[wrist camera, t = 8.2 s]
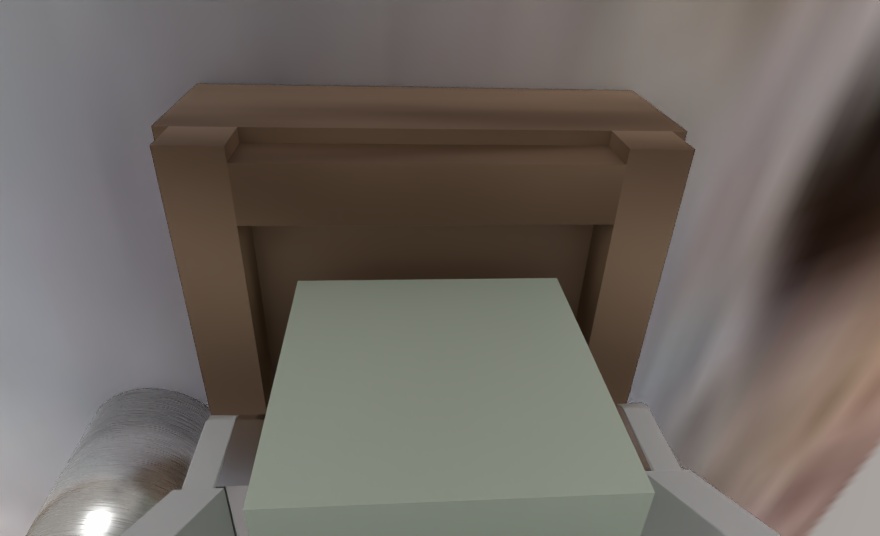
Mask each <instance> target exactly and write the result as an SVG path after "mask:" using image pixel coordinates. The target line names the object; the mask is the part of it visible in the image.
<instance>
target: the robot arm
mask: <svg viewBox="0 0 880 536" xmlns="http://www.w3.org/2000/svg"><path fill="white" fill-rule="evenodd" d="M615 406H616V408H617V411H618V413H619V415H620V417H621V419H622V421H623V424H624V426H625V428H626V430H627V432H628V435H629V437H630V439H631V441H632V443H633V445H634V448H635V450H636V452H637V454H638V456H639V459H640V461H641V463H642V465H643V467H644V470H645V472H646V474H647V476H648V478H649V480H650V483H651V485H652V487H653V489H654V491H655V494H654V497H653V500H652V503H651V506H650V509H649V512H648V515H647V518H646V521H645V524H644V527H643V530H642V533H641V536H781V535H779V534H778V533H777V532H775V531H774V530H773V529H771V528H770V527H768V526H767V525H766V524H764V523H763V522H761V521H760V520H759V519H757V518H756V517H754V516H753V515H752V514H750V513H749V512H748V511H746V510H745V509H743V508H742V507H741V506H739V505H738V504H736V503H735V502H734V501H732V500H731V499H729V498H728V497H727V496H725V495H724V494H723V493H721V492H720V491H718V490H717V489H716V488H714V487H713V486H711V485H710V484H709V483H707V482H706V481H704V480H703V479H702V478H700V477H699V476H698V475H696V474H695V473H693V472H692V471H691V470H682V469H681V467H680V466H679V464H678V462H677V460H676V458H675V456H674V454H673V453H672V451H671V449H670V447H669V445H668V443H667V441H666V439H665V438H664V436H663V434H662V432H661V430H660V428H659V426H658V424H657V423H656V421H655V419H654V417H653V415H652V413H651V411H650V409H649V408H648V406H647V405H645V404H644V403H626V404H617V405H616V404H615ZM264 420H265V415H211V416H210V417H209V418H208V420H207V421H206V422H205V425H204V427H203V430H202V433H201V436H200V439H199V441H198V444H197V447H196V450H195V453H194V456H193V458H192V461H191V464H190V467H189V470H188V472H187V475H186V478H185V481H184V484H183V486H182V489H180V490H172V491H171V492H170V493H169V494H167V495H166V496H165V497H164V498H163V499H162V500H161V501H159V502H158V503H157V504H156V505H155V506H154V507H153V508H151V509H150V510H149V511H148V512H147V513H146V514H144V515H143V516H142V517H141V518H140V519H139V520H138V521H136V522H135V523H134V524H133V525H132V526H131V527H130V528H128V529H127V530H126V531H125V532H124V533H123V534H121V535H120V536H248V532H247V527H246V522H245V518H244V513H243V507H244V503H245V499H246V495H247V490H248V486H249V482H250V478H251V474H252V470H253V465H254V461H255V457H256V453H257V449H258V445H259V440H260V436H261V432H262V428H263V424H264Z"/></svg>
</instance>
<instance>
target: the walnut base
mask: <svg viewBox="0 0 880 536" xmlns="http://www.w3.org/2000/svg"><path fill="white" fill-rule="evenodd" d="M151 127H152V131H153V136H154V142H153V143H152V144H151V145H150V149H151V154H152V158H153V162H154V167H155V171H156V175H157V180H158V184H159V189H160V193H161V197H162V202H163V206H164V211H165V215H166V219H167V224H168V228H169V233H170V237H171V241H172V246H173V250H174V255H175V259H176V263H177V268H178V272H179V276H180V281H181V285H182V290H183V294H184V298H185V303H186V307H187V312H188V316H189V320H190V325H191V329H192V334H193V338H194V342H195V347H196V351H197V356H198V360H199V364H200V369H201V373H202V377H203V382H204V386H205V391H206V395H207V399H208V404H209V408H210V413H211V415H266V411H267V407H268V403H269V399H270V395H271V390H272V386H273V382H274V378H275V374H276V370H277V365H278V361H279V357H280V353H281V349H282V345H283V340H284V336H285V332H286V328H287V324H288V320H289V315H290V311H291V307H292V303H293V299H294V295H295V290H296V286H297V282H298V281H326V280H419V279H512V278H557V279H558V282H559V284H560V286H561V288H562V290H563V292H564V295H565V297H566V299H567V301H568V303H569V306H570V308H571V310H572V312H573V314H574V317H575V319H576V321H577V323H578V325H579V327H580V330H581V332H582V334H583V336H584V338H585V341H586V343H587V345H588V347H589V349H590V351H591V354H592V356H593V358H594V360H595V362H596V365H597V367H598V369H599V371H600V373H601V376H602V378H603V380H604V382H605V384H606V386H607V389H608V391H609V393H610V395H611V397H612V400H613V402H614V404H616V405H617V404H626V403H627V400H628V397H629V393H630V389H631V385H632V382H633V378H634V374H635V371H636V367H637V363H638V359H639V356H640V352H641V348H642V345H643V341H644V337H645V333H646V330H647V326H648V322H649V319H650V315H651V311H652V308H653V304H654V300H655V296H656V293H657V289H658V285H659V282H660V278H661V274H662V270H663V267H664V263H665V259H666V256H667V252H668V248H669V245H670V241H671V237H672V233H673V230H674V226H675V222H676V219H677V215H678V211H679V207H680V204H681V200H682V196H683V193H684V189H685V185H686V181H687V178H688V174H689V170H690V167H691V163H692V159H693V156H694V152H695V149H694V148H693V147H691V146H690V145H689V144H688V143H686V142H685V138H686V134H687V131H686V130H685V129H683V128H682V127H680V126H679V125H678V124H676V123H675V122H674V121H672V120H671V119H670V118H668V117H667V116H666V115H664V114H663V113H662V112H660V111H659V110H658V109H656V108H655V107H654V106H652V105H651V104H650V103H648V102H647V101H646V100H644V99H643V98H642V97H640V96H639V95H638V94H636V93H635V92H634V91H631V90H568V89H505V88H442V87H378V86H315V85H252V84H196V85H195V86H194V87H193V88H192V89H191V90H190V91H188V92H187V93H186V94H185V95H184V96H183V97H182V98H181V99H180V100H179V101H178V102H177V103H176V104H175V105H173V106H172V107H171V108H170V109H169V110H168V111H167V112H166V113H165V114H164V115H163V116H162V117H161V118H160V119H158V120H157V121H156V122H155V123H154V124H153V125H152V126H151Z"/></svg>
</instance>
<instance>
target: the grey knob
mask: <svg viewBox="0 0 880 536" xmlns="http://www.w3.org/2000/svg"><path fill="white" fill-rule="evenodd" d="M210 416H211V413H210V409H209V408H208V407H207V406H205V405H204V404H202V403H201V402H199V401H197V400H196V399H194V398H192V397H189V396H187V395H184V394H181V393H178V392H174V391H169V390H164V389H136V390H131V391H127V392H124V393H121V394H118V395H116V396H114V397H112V398H111V399H109V400H107V401H106V402H105V403H104V404H103V405H102V406H101V407H100V408H99V409H98V411H97V413H96V415H95V416H94V418H93V420H92V422H91V423H90V425H89V427H88V428H87V430H86V432H85V434H84V435H83V437H82V439H81V441H80V442H79V444H78V446H77V448H76V449H75V451H74V453H73V455H72V456H71V458H70V460H69V462H68V463H67V465H66V467H65V468H64V470H63V472H62V474H61V475H60V477H59V479H58V481H57V482H56V484H55V486H54V488H53V489H52V491H51V493H50V495H49V496H48V498H47V500H46V502H45V503H44V505H43V507H42V508H41V510H40V512H39V514H38V515H37V517H36V519H35V521H34V522H33V524H32V526H31V528H30V529H29V531H28V533H27V535H26V536H120V535H121V534H123V533H124V532H125V531H126V530H127V529H128V528H130V527H131V526H132V525H133V524H134V523H135V522H136V521H138V520H139V519H140V518H141V517H142V516H143V515H144V514H146V513H147V512H148V511H149V510H150V509H151V508H153V507H154V506H155V505H156V504H157V503H158V502H159V501H161V500H162V499H163V498H164V497H165V496H166V495H167V494H169V493H170V492H171V491H172V490H180V489H182V486H183V484H184V481H185V478H186V475H187V472H188V470H189V467H190V464H191V461H192V458H193V456H194V453H195V450H196V447H197V444H198V441H199V439H200V436H201V433H202V430H203V427H204V425H205V422H206V421H207V420H208V418H209V417H210Z"/></svg>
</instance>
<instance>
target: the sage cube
mask: <svg viewBox="0 0 880 536" xmlns="http://www.w3.org/2000/svg"><path fill="white" fill-rule="evenodd" d="M654 494H655V491H654V489H653V487H652V485H651V483H650V480H649V478H648V476H647V474H646V472H645V470H644V467H643V465H642V463H641V461H640V459H639V456H638V454H637V452H636V450H635V448H634V445H633V443H632V441H631V439H630V437H629V435H628V432H627V430H626V428H625V426H624V424H623V421H622V419H621V417H620V415H619V413H618V411H617V408H616V406H615V404H614V402H613V400H612V397H611V395H610V393H609V391H608V389H607V386H606V384H605V382H604V380H603V378H602V376H601V373H600V371H599V369H598V367H597V365H596V362H595V360H594V358H593V356H592V354H591V351H590V349H589V347H588V345H587V343H586V341H585V338H584V336H583V334H582V332H581V330H580V327H579V325H578V323H577V321H576V319H575V317H574V314H573V312H572V310H571V308H570V306H569V303H568V301H567V299H566V297H565V295H564V292H563V290H562V288H561V286H560V284H559V282H558V279H557V278H512V279H419V280H326V281H298V282H297V286H296V290H295V295H294V299H293V303H292V307H291V311H290V315H289V320H288V324H287V328H286V332H285V336H284V340H283V345H282V349H281V353H280V357H279V361H278V365H277V370H276V374H275V378H274V382H273V386H272V390H271V395H270V399H269V403H268V407H267V411H266V415H265V420H264V424H263V428H262V432H261V436H260V440H259V445H258V449H257V453H256V457H255V461H254V465H253V470H252V474H251V478H250V482H249V486H248V490H247V495H246V499H245V503H244V507H243V513H244V518H245V522H246V527H247V532H248V536H641V533H642V530H643V527H644V524H645V521H646V518H647V515H648V512H649V509H650V506H651V503H652V500H653V497H654Z"/></svg>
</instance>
